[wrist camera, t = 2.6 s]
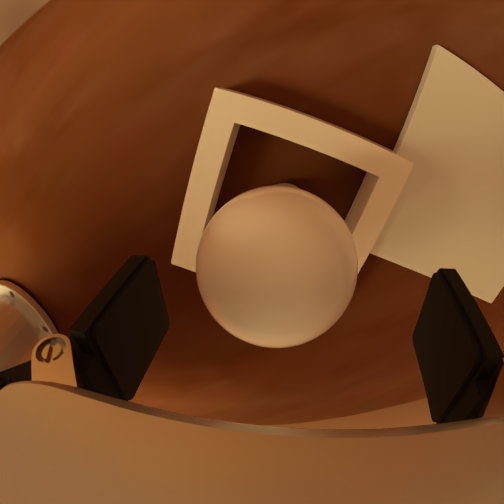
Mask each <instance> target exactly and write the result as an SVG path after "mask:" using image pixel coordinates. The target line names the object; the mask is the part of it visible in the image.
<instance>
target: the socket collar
mask: <svg viewBox="0 0 504 504" xmlns="http://www.w3.org/2000/svg"><path fill="white" fill-rule="evenodd" d="M240 124H241V125H244V126H247V127H251V128H254V129H257V130H260V131H263V132H266V133H269V134H272V135H275V136H278V137H281V138H283V139H286V140H289V141H292V142H295V143H297V144H300V145H303V146H306V147H308V148H311V149H313V150H316V151H319V152H321V153H324V154H326V155H329V156H331V157H334V158H336V159H339V160H341V161H344V162H346V163H348V164H351V165H353V166H355V167H358V168H360V169H362V170H365V171H367V173H366V175H365V177H364V179H363V182H362V184H361V186H360V188H359V191H358V193H357V195H356V197H355V199H354V202H353V204H352V206H351V208H350V210H349V212H348V214H347V217H346V219H345V221H344V222H345V223H346V225H347V227H348V228H349V230H350V232H351V235H352V237H353V240H354V243H355V247H356V251H357V258H358V273H359V271H360V269H361V267H362V266H363V264H364V262H365V260H366V258H367V257H368V255H369V253H370V251H371V249H372V247H373V246H374V244H375V242H376V240H377V238H378V236H379V234H380V232H381V231H382V229H383V227H384V225H385V223H386V221H387V219H388V217H389V215H390V213H391V211H392V209H393V207H394V205H395V203H396V201H397V199H398V197H399V195H400V192H401V190H402V188H403V186H404V184H405V182H406V180H407V178H408V175H409V173H410V171H411V169H412V167H413V163H412V162H411V161H409V160H408V159H406V158H405V157H403V156H401V155H399V154H397V153H395V152H394V151H392V150H390V149H388V148H386V147H384V146H382V145H380V144H378V143H375V142H373V141H371V140H369V139H367V138H365V137H362V136H360V135H358V134H355V133H353V132H351V131H349V130H346V129H344V128H341V127H339V126H337V125H334V124H332V123H329V122H327V121H324V120H322V119H319V118H316V117H314V116H311V115H308V114H306V113H303V112H300V111H297V110H295V109H292V108H289V107H286V106H283V105H280V104H277V103H274V102H271V101H268V100H265V99H262V98H258V97H255V96H252V95H248V94H245V93H242V92H238V91H235V90H231V89H227V88H215V89H214V92H213V95H212V99H211V102H210V105H209V109H208V112H207V115H206V119H205V122H204V126H203V130H202V133H201V137H200V140H199V144H198V148H197V152H196V155H195V159H194V163H193V167H192V171H191V175H190V179H189V183H188V187H187V191H186V195H185V200H184V204H183V208H182V213H181V217H180V222H179V226H178V231H177V236H176V240H175V245H174V250H173V255H172V260H171V264H174V265H176V266H179V267H182V268H185V269H188V270H190V271H193V272H196V255H197V249H198V245H199V242H200V239H201V236H202V234H203V232H204V230H205V228H206V226H207V225H208V223H209V221H210V220H211V219H212V217H213V214H214V211H215V207H216V204H217V200H218V197H219V193H220V190H221V186H222V183H223V180H224V176H225V173H226V170H227V166H228V163H229V160H230V156H231V153H232V150H233V147H234V143H235V140H236V137H237V134H238V131H239V128H240Z"/></svg>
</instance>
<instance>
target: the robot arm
mask: <svg viewBox="0 0 504 504" xmlns="http://www.w3.org/2000/svg"><path fill="white" fill-rule="evenodd" d="M168 327H169V318H168V314H167V310H166V307H165V303H164V299H163V295H162V291H161V287H160V283H159V278H158V274H157V270H156V265H155V262H154V261H153V260H151V259H150V257H149V256H143V255H132V256H131V257H130V258H129V259H128V260H127V261H126V263H125V264H124V265H123V266H122V267H121V268H120V269H119V271H118V272H117V273H116V274H115V275H114V276H113V277H112V279H111V280H110V281H109V282H108V283H107V284H106V286H105V287H104V288H103V289H102V290H101V291H100V293H99V294H98V295H97V296H96V297H95V299H94V300H93V301H92V302H91V303H90V305H89V306H88V307H87V308H86V310H85V311H84V312H83V313H82V314H81V316H80V317H79V318H78V319H77V321H76V322H75V323H74V324H73V326H72V327H71V328H70V332H71V334H72V335H71V336H70V338H68V337H67V336H66V335H63V334H59V333H58V331H57V329H56V327H55V326H54V324H53V322H52V321H51V319H50V318H49V316H48V315H47V314H46V313H45V311H44V310H43V309H42V308H41V306H40V305H39V304H38V303H37V302H36V301H35V300H34V299H33V298H32V297H31V296H30V295H29V294H28V293H27V292H25V291H24V290H23V289H22V288H20V287H19V286H17V285H15V284H14V283H11V282H9V281H5V280H0V504H504V362H503V360H502V358H503V357H504V355H503V353H502V351H501V348H500V346H499V344H498V342H497V340H496V338H495V336H494V334H493V333H492V331H491V329H490V327H489V325H488V323H487V321H486V319H485V317H484V316H483V314H482V312H481V310H480V308H479V307H478V305H477V303H476V301H475V300H474V298H473V296H472V295H471V293H470V291H469V290H468V288H467V286H466V285H465V283H464V281H463V280H462V278H461V277H460V275H459V273H458V272H457V270H456V269H450V268H440V269H438V271H437V272H435V273H433V275H432V278H431V282H430V285H429V288H428V292H427V295H426V298H425V301H424V304H423V307H422V310H421V313H420V316H419V319H418V322H417V325H416V327H415V330H414V333H413V345H414V348H415V352H416V355H417V359H418V363H419V366H420V370H421V374H422V378H423V382H424V386H425V390H426V395H427V399H428V404H429V408H430V413H431V417H432V420H433V422H436V423H437V424H432V425H423V426H412V427H399V428H383V429H357V430H356V429H354V430H353V429H349V430H347V429H346V430H342V429H340V430H339V429H302V428H285V427H273V426H262V425H252V424H244V423H236V422H228V421H221V420H215V419H208V418H202V417H197V416H191V415H186V414H181V413H176V412H171V411H166V410H161V409H157V408H153V407H148V406H144V405H140V404H136V403H132V402H129V401H128V400H131V399H133V397H134V395H135V393H136V391H137V389H138V387H139V385H140V383H141V381H142V379H143V377H144V375H145V373H146V371H147V369H148V367H149V365H150V363H151V361H152V359H153V357H154V355H155V353H156V351H157V349H158V348H159V346H160V344H161V342H162V340H163V338H164V336H165V334H166V332H167V330H168Z"/></svg>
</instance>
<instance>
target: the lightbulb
mask: <svg viewBox="0 0 504 504" xmlns="http://www.w3.org/2000/svg"><path fill="white" fill-rule="evenodd" d="M357 275H358V258H357V251H356V247H355V243H354V240H353V237H352V235H351V232H350V230H349V228H348V227H347V225H346V223H345V222H344V220H343V219H342V217H341V216H340V215H339V214H338V213H337V211H336V210H335V209H334V208H333V207H331V206H330V205H329V204H328V203H327V202H325V201H324V200H323V199H321V198H320V197H318V196H316V195H314V194H312V193H310V192H308V191H305V190H302V189H299V188H298V187H297V186H295V185H293V184H289V183H279V184H276V185H273V186H264V187H259V188H255V189H252V190H249V191H246V192H244V193H242V194H240V195H238V196H236V197H234V198H233V199H231V200H230V201H228V202H227V203H226V204H225V205H224V206H222V207H221V208H220V209H219V210H218V211H217V212H216V214H215V215H214V216H213V217H212V219H211V220H210V221H209V223H208V225H207V226H206V228H205V230H204V232H203V234H202V236H201V239H200V242H199V245H198V249H197V255H196V278H197V284H198V288H199V292H200V294H201V297H202V300H203V302H204V304H205V306H206V308H207V309H208V311H209V312H210V314H211V315H212V316H213V318H214V319H215V320H216V321H217V322H218V323H219V324H220V325H221V326H222V327H223V328H224V329H225V330H226V331H228V332H229V333H230V334H232V335H233V336H235V337H237V338H239V339H240V340H243V341H245V342H247V343H250V344H253V345H257V346H261V347H267V348H286V347H292V346H297V345H300V344H304V343H306V342H309V341H311V340H313V339H315V338H317V337H318V336H320V335H322V334H323V333H324V332H326V331H327V330H328V329H330V328H331V327H332V326H333V325H334V324H335V323H336V322H337V321H338V320H339V318H340V317H341V316H342V314H343V313H344V312H345V310H346V308H347V307H348V305H349V303H350V301H351V299H352V296H353V293H354V290H355V287H356V282H357Z"/></svg>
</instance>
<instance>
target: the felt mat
mask: <svg viewBox="0 0 504 504" xmlns="http://www.w3.org/2000/svg"><path fill="white" fill-rule="evenodd" d="M393 151H394V152H395V153H397V154H399V155H401V156H403V157H405V158H406V159H408V160H409V161H411V162H412V163H413V167H412V169H411V171H410V173H409V175H408V178H407V180H406V182H405V184H404V186H403V188H402V190H401V192H400V195H399V197H398V199H397V201H396V203H395V205H394V207H393V209H392V211H391V213H390V215H389V217H388V219H387V221H386V223H385V225H384V227H383V229H382V231H381V232H380V234H379V236H378V238H377V240H376V242H375V244H374V246H373V247H372V249H371V251H370V253H371V254H373V255H376V256H378V257H381V258H383V259H386V260H388V261H391V262H393V263H396V264H398V265H401V266H403V267H406V268H408V269H411V270H413V271H416V272H418V273H421V274H423V275H426V276H428V277H430V278H432V275H433V273H435V272H437V271H438V269H440V268H450V269H456V270H457V272H458V273H459V275H460V277H461V278H462V280H463V281H464V283H465V285H466V286H467V288H468V290H469V291H470V293H471V295H473V296H475V297H478V298H480V299H482V300H484V301H487V302H489V303H492V302H493V301H494V299H495V298H496V296H497V295H498V293H499V292H500V290H501V289H502V288H503V286H504V92H503V91H502V90H501V89H500V88H499V87H497V86H496V85H495V84H494V83H492V82H491V81H490V80H489V79H487V78H486V77H485V76H483V75H482V74H481V73H479V72H478V71H477V70H475V69H474V68H473V67H471V66H470V65H468V64H467V63H465V62H464V61H463V60H461V59H460V58H458V57H457V56H455V55H454V54H452V53H451V52H449V51H447V50H446V49H444V48H443V47H441V46H440V45H434V46H433V47H432V50H431V53H430V56H429V59H428V62H427V65H426V67H425V70H424V73H423V76H422V79H421V82H420V84H419V87H418V90H417V92H416V95H415V98H414V100H413V103H412V106H411V108H410V111H409V113H408V116H407V118H406V121H405V123H404V126H403V128H402V131H401V133H400V136H399V138H398V140H397V143H396V145H395V147H394V150H393Z"/></svg>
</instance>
